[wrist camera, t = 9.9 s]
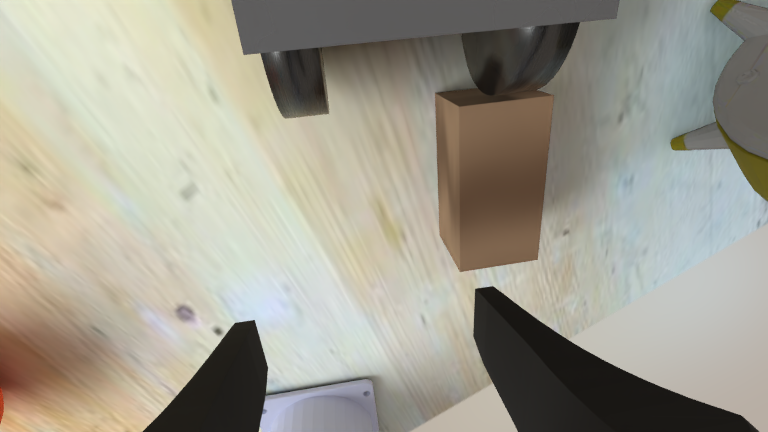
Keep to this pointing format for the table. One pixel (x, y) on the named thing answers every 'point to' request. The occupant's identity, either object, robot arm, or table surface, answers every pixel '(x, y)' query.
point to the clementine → (1, 405)
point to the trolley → (411, 20)
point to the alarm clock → (740, 97)
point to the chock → (491, 174)
